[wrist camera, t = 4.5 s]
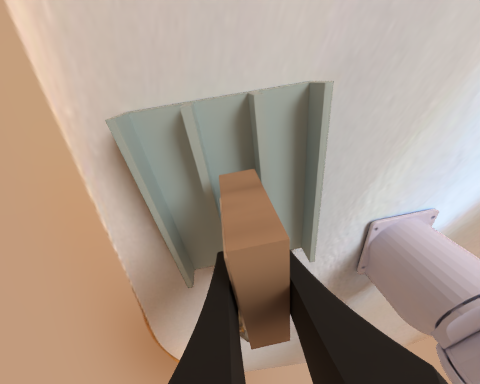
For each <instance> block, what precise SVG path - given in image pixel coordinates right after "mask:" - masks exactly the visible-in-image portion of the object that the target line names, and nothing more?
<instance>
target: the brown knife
mask: <svg viewBox="0 0 480 384" xmlns="http://www.w3.org/2000/svg"><path fill="white" fill-rule="evenodd" d="M238 313H239V310H238ZM242 325H243V324H242V321H241V317H240V314H239V331H240V336H241V337H242V338H243V339H245V340H246V341H247V342H249V338H248V334H247V331H246V330H244V328H243V326H242Z"/></svg>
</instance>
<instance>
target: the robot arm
mask: <svg viewBox="0 0 480 384" xmlns="http://www.w3.org/2000/svg"><path fill="white" fill-rule="evenodd" d="M438 213H439V211H438V210H436V209H430V210H425V211H420V212H415V213H410V214H405V215H401V216H396V217H391V218H386V219H381V220H376V221H373V222H372V223H371V225H370V228H369V232H368V235H367V238H366V242H365V245H364V248H363V252H362V255H361V258H360V262H359V265H358V268H357V272H358V274H364V273H365V274H366V275H367V276H368V277H369V279H370V280H371V281H372V282H373V284H374V285H375V286H376V287H377V288H378V290H379V291H380V292H381V293H382V295H383V296H384V297H385V298H386V300H387V301H388V302H389V303H390V305H391V306H392V307H393V308H394V310H395V311H396V312H397V313H398V315H399V316H400V317H401V318H402V319H403V320H404V321H406V322H407V323H408V324H409V325H411V326H412V327H414V328H415V329H417V330H419V331H420V332H422V333H425V334H427V335H430V336H433V337H434V338H435V340H436V341H437V342H438V344H437V347H436V349H437V354H438V356H439V359H440V362H441V365H442V367H443V369H444V371H445V373H446V375H447V376H448V378H449V379H450V381H451V382H452V384H480V259H479V258H478V257H476V256H475V255H473V254H472V253H470V252H469V251H467V250H466V249H464V248H463V247H461V246H460V245H458V244H457V243H455V242H454V241H452V240H450V239H449V238H447V237H446V236H444V235H443V234H441V233H440V232H438V231H437V230H435V229H434V228H432V227H431V226H432V225H433V223H434V221H435V219H436V217H437V215H438ZM290 315H291V317H292V319H293V322H294V325H295V327H296V330H297V333H298V336H299V339H300V343H301V346H302V349H303V352H304V355H305V359H306V362H307V365H308V368H309V372H310V375H311V378H312V381H313V384H448V383H447V382H446V380H445V379H444V378H443V377H442V376H441V375H440V374H439V373H438V372H437V370H436V369H435V368H434V367H433V366H432V365H430V364H429V363H427V362H426V361H424V360H423V359H421V358H419V357H418V356H416V355H415V354H413V353H412V352H410V351H409V350H407V349H406V348H404V347H403V346H401V345H400V344H398V343H397V342H395V341H394V340H392V339H391V338H390V337H388V336H387V335H385V334H384V333H382V332H381V331H380V330H378V329H377V328H375V327H374V326H373V325H371V324H370V323H369V322H367V321H366V320H365V319H363V318H362V317H361V316H360V315H358V314H357V313H356V312H354V311H353V310H352V309H350V308H349V307H348V306H347V305H346V304H344V303H343V302H342V301H341V300H340V299H338V298H337V297H336V296H335V295H334V294H333V293H331V292H330V291H329V290H328V289H327V288H326V287H325V286H324V285H323V284H322V283H321V282H320V281H318V280H317V279H316V278H315V277H314V276H313V275H312V274H311V273H310V272H309V271H308V269H307V268H306V267H305V266H304V265H303V264H302V263H301V262H300V261H299V260H298V259H297V258H296V256H295V255H294V254H293V253H292V252H291V250H290ZM168 384H246V383H245V375H244V367H243V360H242V352H241V344H240V331H239V313H238V306H237V303H236V299H235V296H234V292H233V288H232V285H231V281H230V278H229V274H228V271H227V267H226V263H225V260H224V251H220V252H218V253H217V257H216V263H215V268H214V272H213V276H212V280H211V283H210V287H209V290H208V294H207V297H206V299H205V302H204V305H203V308H202V311H201V314H200V316H199V319H198V321H197V324H196V326H195V329H194V331H193V333H192V336H191V338H190V340H189V342H188V344H187V347H186V349H185V351H184V353H183V355H182V357H181V359H180V361H179V363H178V365H177V367H176V369H175V371H174V373H173V375H172V377H171V379H170V381H169V383H168Z"/></svg>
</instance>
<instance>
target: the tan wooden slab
mask: <svg viewBox="0 0 480 384" xmlns="http://www.w3.org/2000/svg"><path fill="white" fill-rule="evenodd" d="M219 184H220V195H221V198H219V199H220V212H221V225H222V238H223V250H224V260H225V263H226V267H227V271H228V274H229V278H230V281H231V285H232V288H233V292H234V296H235V299H236V303H237V306H238V310H239V314H240V317H241V321H242V324H243V328H244V330H245V329H246V330H247V334H248V338H249V342H250V346H251V349H256V348H260V347H264V346H269V345H273V344H277V343H281V342H286V341H290V239H289V237H288V235H287V233H286V231H285V229H284V227H283V225H282V223H281V221H280V219H279V217H278V215H277V213H276V211H275V209H274V207H273V205H272V203H271V201H270V199H269V197H268V195H267V193H266V191H265V189H264V187H263V185H262V183H261V181H260V179H259V177H258V175H257V173H256V171H255V169H249V170H244V171H239V172H233V173H228V174H223V175H219Z"/></svg>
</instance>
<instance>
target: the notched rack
mask: <svg viewBox="0 0 480 384" xmlns="http://www.w3.org/2000/svg"><path fill="white" fill-rule="evenodd" d="M333 83H334V81H308V82H302V83H296V84H290V85H284V86H278V87H273V88H267V89H261V90H255V91H249V92H243V93H237V94H231V95H225V96H219V97H213V98H208V99H202V100H196V101H190V102H184V103H178V104H172V105H166V106H160V107H154V108H148V109H143V110H137V111H131V112H126V113H123V114H120V115H118V116H115V117H112V118H110V119H107V120H105V121H106V123H107V125H108V127H109V129H110V131H111V133H112V135H113V137H114V139H115V141H116V143H117V145H118V147H119V149H120V151H121V153H122V155H123V157H124V159H125V161H126V163H127V165H128V167H129V169H130V171H131V173H132V176H133V178H134V180H135V182H136V184H137V186H138V188H139V190H140V192H141V194H142V196H143V198H144V200H145V202H146V204H147V206H148V208H149V210H150V212H151V214H152V216H153V218H154V220H155V222H156V224H157V226H158V228H159V230H160V232H161V234H162V236H163V238H164V240H165V242H166V244H167V246H168V248H169V250H170V252H171V254H172V256H173V258H174V260H175V262H176V264H177V266H178V268H179V271H180V273H181V275H182V277H183V279H184V281H185V283H186V285H187V287H188V288H191V287H193V283H194V271H195V270H196V269H200V268H205V267H210V266H215V263H216V257H217V253H218V252H220V251H224V250H223V238H222V225H221V212H220V199H219V198H221V195H220V184H219V175H223V174H228V173H233V172H239V171H244V170H249V169H255V171H256V173H257V175H258V177H259V179H260V181H261V183H262V185H263V187H264V189H265V191H266V193H267V195H268V197H269V199H270V201H271V203H272V205H273V207H274V209H275V211H276V213H277V215H278V217H279V219H280V221H281V223H282V225H283V227H284V229H285V231H286V233H287V235H288V237H289V239H290V250H292V249H297V248H302V249H303V251H304V253H305V255H306V256H307V258H308V260H309V262H314V261H315V252H316V243H317V233H318V224H319V214H320V205H321V196H322V186H323V177H324V168H325V158H326V149H327V139H328V130H329V121H330V111H331V102H332V92H333Z"/></svg>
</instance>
